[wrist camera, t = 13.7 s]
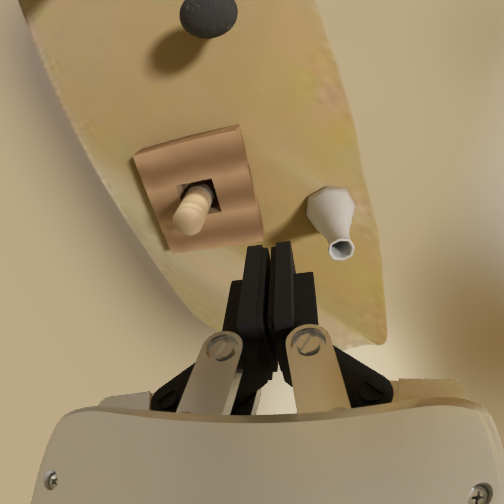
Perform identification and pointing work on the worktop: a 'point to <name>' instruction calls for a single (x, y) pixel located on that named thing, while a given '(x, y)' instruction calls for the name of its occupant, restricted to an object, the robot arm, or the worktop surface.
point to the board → (196, 169)
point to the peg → (194, 208)
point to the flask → (333, 219)
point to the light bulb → (208, 17)
